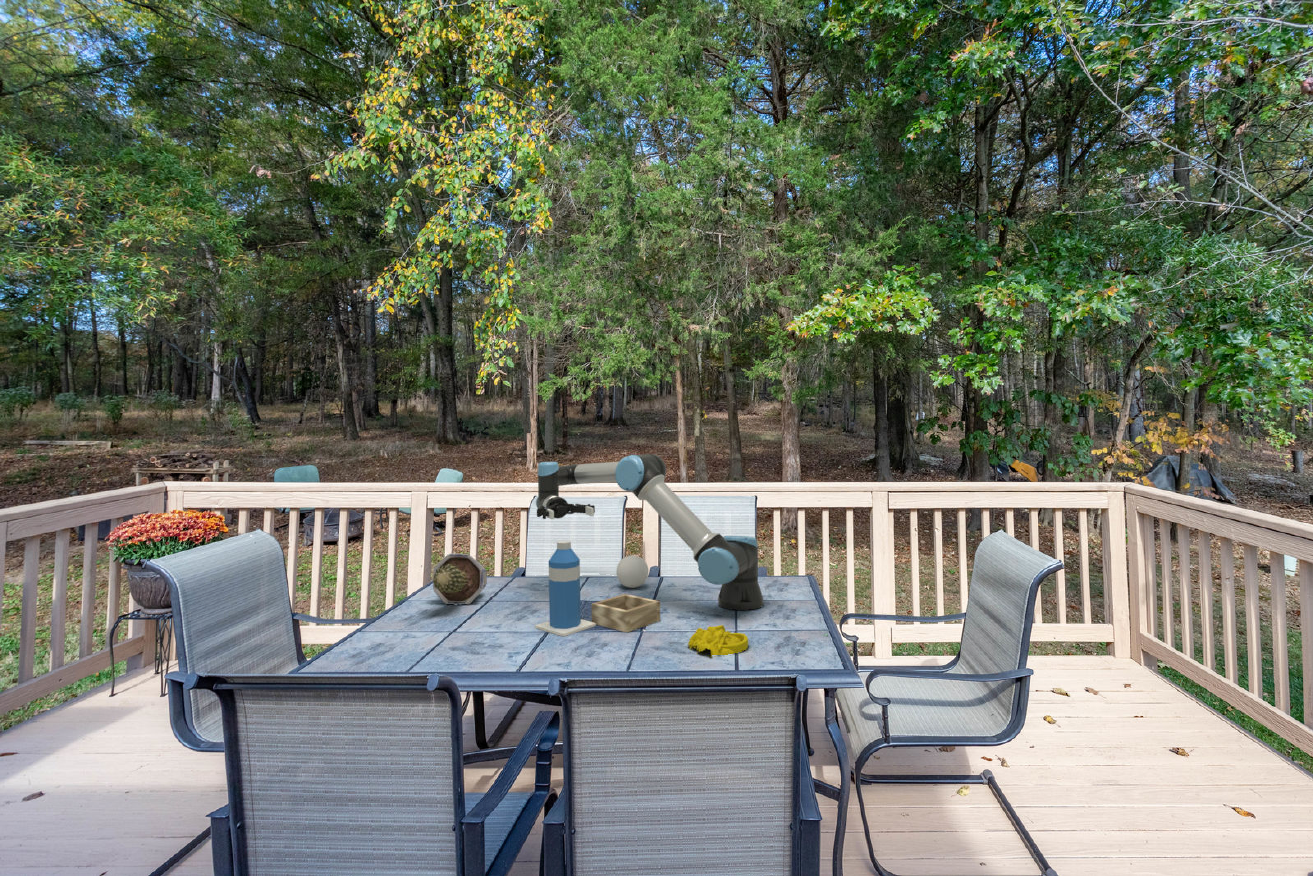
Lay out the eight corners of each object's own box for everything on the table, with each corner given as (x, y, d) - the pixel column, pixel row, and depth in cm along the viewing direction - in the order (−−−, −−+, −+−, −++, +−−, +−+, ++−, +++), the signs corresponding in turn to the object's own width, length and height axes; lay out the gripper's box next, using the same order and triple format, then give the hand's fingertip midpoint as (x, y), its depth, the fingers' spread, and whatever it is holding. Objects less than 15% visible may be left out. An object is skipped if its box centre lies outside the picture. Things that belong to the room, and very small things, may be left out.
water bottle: (567, 630, 192) (565, 545, 192) (543, 626, 197) (541, 543, 197) (587, 622, 200) (585, 540, 200) (563, 618, 205) (562, 538, 205)
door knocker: (758, 651, 176) (758, 635, 176) (706, 661, 169) (706, 645, 169) (725, 634, 191) (725, 619, 191) (676, 642, 184) (676, 627, 184)
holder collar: (660, 620, 203) (659, 601, 203) (626, 632, 192) (626, 612, 192) (625, 612, 213) (624, 593, 213) (591, 623, 202) (591, 603, 202)
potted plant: (446, 554, 241) (417, 549, 211) (495, 556, 241) (472, 551, 211) (441, 603, 237) (410, 606, 208) (490, 605, 237) (467, 608, 207)
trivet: (596, 625, 199) (595, 623, 199) (563, 636, 189) (563, 633, 189) (567, 618, 208) (567, 615, 208) (534, 628, 198) (534, 625, 198)
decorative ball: (648, 583, 252) (647, 552, 252) (648, 591, 240) (648, 558, 240) (617, 584, 252) (616, 553, 251) (616, 591, 240) (615, 559, 239)
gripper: (589, 514, 240) (608, 522, 221) (521, 519, 230) (535, 528, 210) (588, 494, 240) (608, 500, 220) (520, 498, 230) (535, 504, 210)
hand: (573, 513), depth 215 cm, fingers open, 13 cm apart
